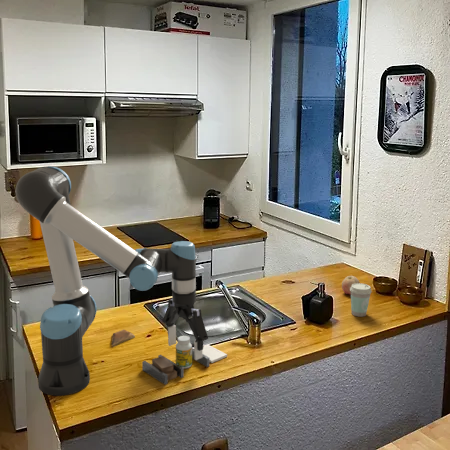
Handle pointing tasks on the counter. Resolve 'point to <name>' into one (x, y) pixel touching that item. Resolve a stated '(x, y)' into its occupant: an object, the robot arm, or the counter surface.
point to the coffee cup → (360, 299)
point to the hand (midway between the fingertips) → (185, 351)
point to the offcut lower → (171, 374)
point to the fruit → (349, 283)
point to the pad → (213, 353)
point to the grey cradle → (180, 371)
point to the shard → (121, 337)
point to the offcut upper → (162, 364)
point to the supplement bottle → (184, 352)
